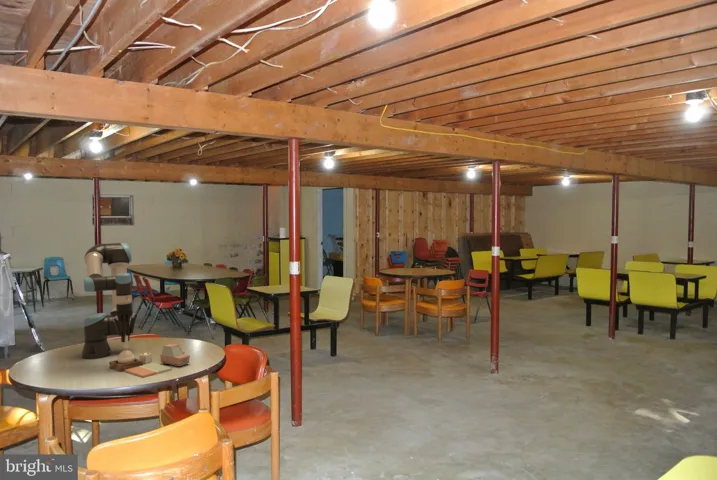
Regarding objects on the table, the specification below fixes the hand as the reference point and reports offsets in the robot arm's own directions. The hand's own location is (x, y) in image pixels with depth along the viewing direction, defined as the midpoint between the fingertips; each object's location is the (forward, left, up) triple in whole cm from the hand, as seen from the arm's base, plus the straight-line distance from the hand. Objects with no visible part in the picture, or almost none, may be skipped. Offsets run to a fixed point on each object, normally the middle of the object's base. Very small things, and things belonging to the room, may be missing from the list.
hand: (125, 347), depth 284 cm
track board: (+16, +3, -10) cm, 19 cm away
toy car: (+16, +18, -11) cm, 27 cm away
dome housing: (0, 0, -10) cm, 10 cm away
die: (0, +11, -10) cm, 15 cm away
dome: (0, 0, -8) cm, 8 cm away
